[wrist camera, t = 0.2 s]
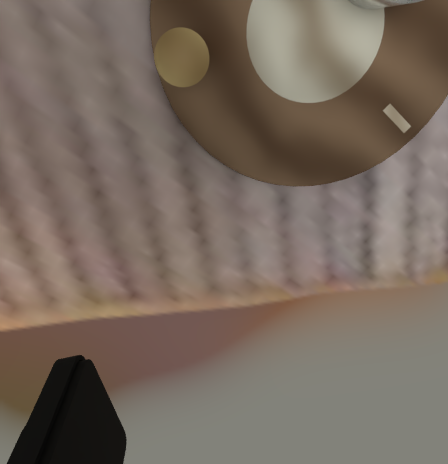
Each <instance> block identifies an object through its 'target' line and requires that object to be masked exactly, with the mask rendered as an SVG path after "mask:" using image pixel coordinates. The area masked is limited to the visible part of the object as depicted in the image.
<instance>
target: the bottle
mask: <svg viewBox="0 0 448 464" xmlns="http://www.w3.org/2000/svg"><path fill="white" fill-rule="evenodd" d="M348 1H350V2H351V3H352V4H354V5H356V6H358V7H361V8H364V9H379V8H385V7H391V6H397V5H403V4H409V3H415V2H420V1H423V0H348Z"/></svg>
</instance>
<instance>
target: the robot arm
mask: <svg viewBox="0 0 448 464" xmlns="http://www.w3.org/2000/svg"><path fill="white" fill-rule="evenodd" d="M125 450H126V434H125V431H124V429H123V426H122V424H121V422H120V420H119V418H118V416H117V414H116V411H115V409H114V407H113V405H112V403H111V400H110V398H109V396H108V394H107V392H106V390H105V388H104V385H103V383H102V381H101V379H100V377H99V375H98V373H97V370H96V368H95V366H94V364H93V362H92V361H91V360H89V359H88V360H85V358H84V357H83V356H82V355H77V356H72V357H67V358H63V359H58V360H57V361H56V362H55V363H54V365H53V367H52V370H51V372H50V374H49V376H48V378H47V380H46V383H45V385H44V387H43V389H42V392H41V394H40V396H39V398H38V400H37V403H36V404H35V407H34V409H33V411H32V413H31V415H30V418H29V420H28V422H27V424H26V426H25V427H24V429H23V430H22V432H21V434H20V437H19V439H18V441H17V443H16V445H15V447H14V449H13V452H12V454H11V456H10V458H9V460H8V462H7V464H123V461H124V456H125Z"/></svg>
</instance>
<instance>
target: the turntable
mask: <svg viewBox="0 0 448 464" xmlns="http://www.w3.org/2000/svg"><path fill="white" fill-rule="evenodd" d="M150 27H151V40H152V48H153V53H154V61H155V65H156V68H157V71H158V74H159V77H160V80H161V83H162V86H163V89H164V91H165V93H166V95H167V98H168V100H169V102H170V104H171V106H172V108H173V110H174V111H175V113H176V115H177V116H178V118H179V119H180V121H181V123H182V124H183V126H184V127H185V128H186V129H187V131H188V132H189V133H190V134H191V136H192V137H193V138H194V139H195V140H196V142H198V143H199V144H200V145H201V146H202V147H203V148H204V149H205V150H206V151H207V152H208V153H209V154H210V155H212V156H213V157H214V158H216V159H217V160H219V161H220V162H221V163H223V164H224V165H226V166H228V167H229V168H231V169H233V170H235V171H237V172H239V173H241V174H243V175H245V176H248V177H251V178H253V179H256V180H259V181H263V182H267V183H272V184H276V185H286V186H314V185H321V184H327V183H332V182H336V181H339V180H343V179H347V178H349V177H352V176H354V175H357V174H359V173H362V172H364V171H366V170H368V169H370V168H372V167H374V166H375V165H377V164H379V163H381V162H383V161H384V160H386V159H387V158H388V157H390V156H391V155H393V154H394V153H396V152H397V151H399V150H400V149H401V148H402V147H403V146H404V145H405V144H407V143H408V142H409V141H410V140H411V139H412V138H414V137H415V136H416V134H417V133H418V132H419V131H420V130H421V129H422V128H423V127H424V126H425V125H426V124H427V123H428V122H429V120H430V119H431V118H432V116H433V115H434V114H435V112H436V111H437V110H438V108H439V107H440V106H441V105H442V103H443V101H444V100H445V98H446V96H447V95H448V0H423V1H420V2H415V3H409V4H403V5H397V6H391V7H385V8H379V9H364V8H361V7H358V6H356V5H354V4H352V3H351V2H350V1H348V0H151V5H150Z"/></svg>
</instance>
